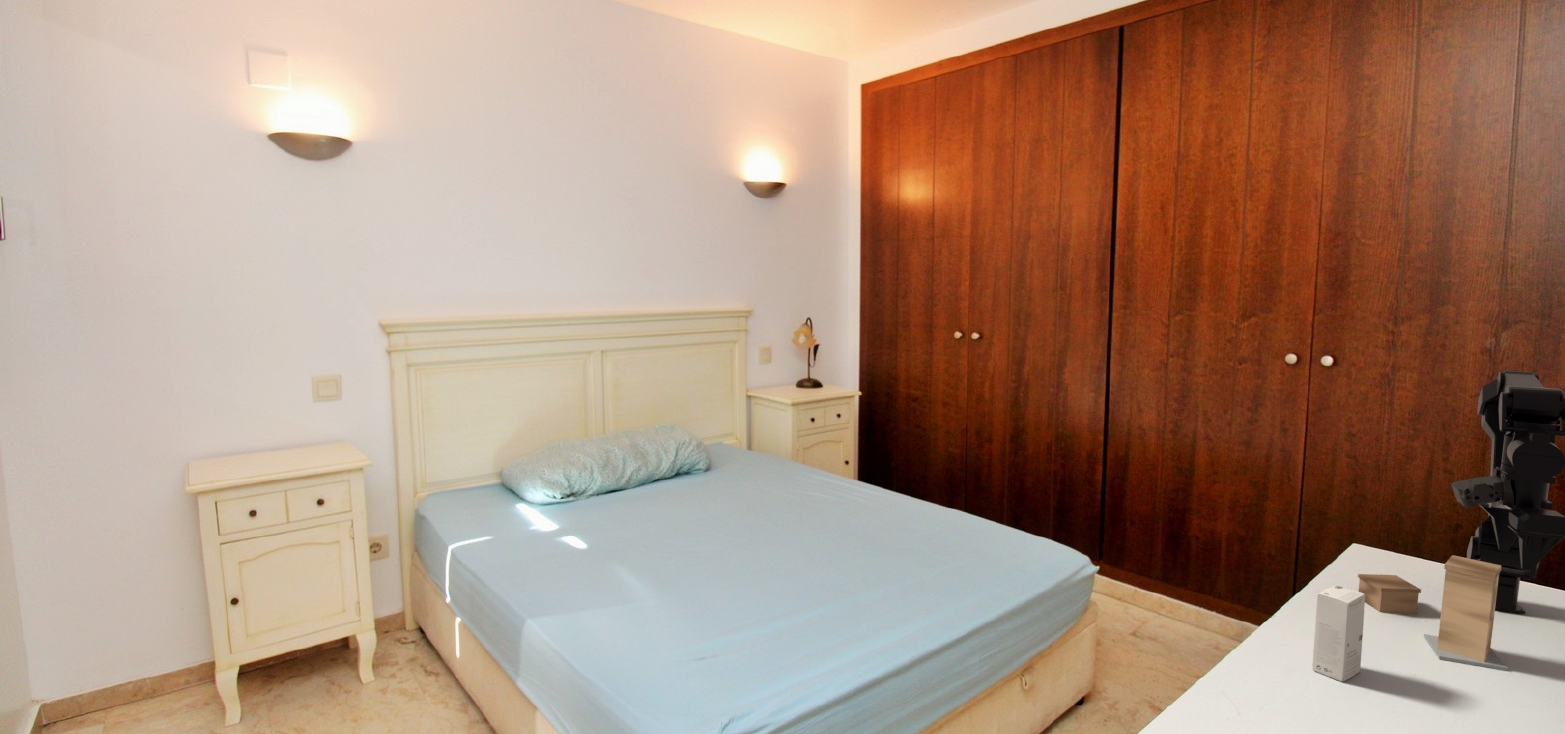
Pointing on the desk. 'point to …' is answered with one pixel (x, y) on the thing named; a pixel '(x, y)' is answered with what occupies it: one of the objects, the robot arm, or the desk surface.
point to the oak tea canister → (1468, 607)
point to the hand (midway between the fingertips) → (1514, 560)
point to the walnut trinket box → (1389, 593)
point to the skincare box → (1338, 633)
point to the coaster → (1489, 662)
